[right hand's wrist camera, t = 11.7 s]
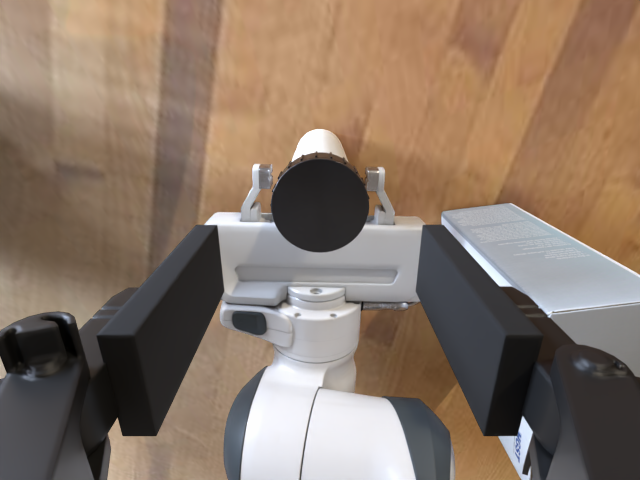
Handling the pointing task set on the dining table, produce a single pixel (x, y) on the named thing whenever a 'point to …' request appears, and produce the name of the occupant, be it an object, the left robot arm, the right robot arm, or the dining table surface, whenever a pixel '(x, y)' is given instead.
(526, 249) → the hard drive box
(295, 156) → the white tube
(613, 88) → the dining table surface
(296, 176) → the lid
